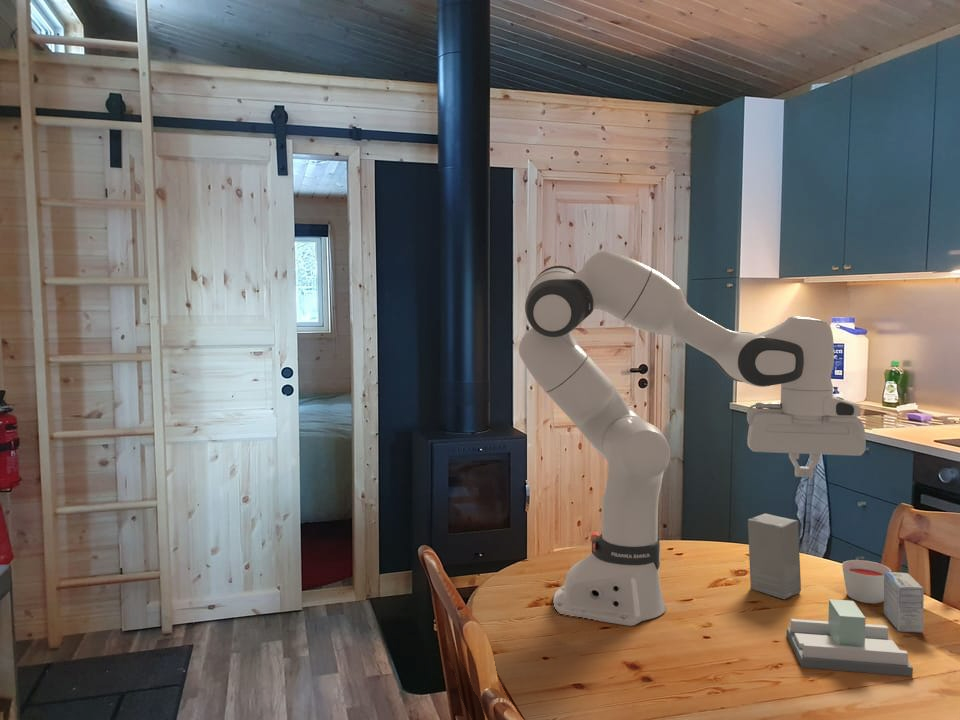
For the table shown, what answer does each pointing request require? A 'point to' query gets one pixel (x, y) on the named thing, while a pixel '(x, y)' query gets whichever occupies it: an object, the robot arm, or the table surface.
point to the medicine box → (903, 602)
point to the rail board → (847, 650)
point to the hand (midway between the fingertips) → (803, 476)
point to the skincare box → (774, 555)
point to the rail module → (846, 623)
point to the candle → (864, 580)
